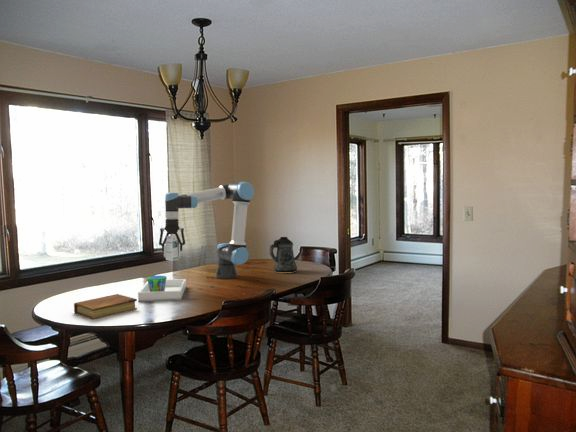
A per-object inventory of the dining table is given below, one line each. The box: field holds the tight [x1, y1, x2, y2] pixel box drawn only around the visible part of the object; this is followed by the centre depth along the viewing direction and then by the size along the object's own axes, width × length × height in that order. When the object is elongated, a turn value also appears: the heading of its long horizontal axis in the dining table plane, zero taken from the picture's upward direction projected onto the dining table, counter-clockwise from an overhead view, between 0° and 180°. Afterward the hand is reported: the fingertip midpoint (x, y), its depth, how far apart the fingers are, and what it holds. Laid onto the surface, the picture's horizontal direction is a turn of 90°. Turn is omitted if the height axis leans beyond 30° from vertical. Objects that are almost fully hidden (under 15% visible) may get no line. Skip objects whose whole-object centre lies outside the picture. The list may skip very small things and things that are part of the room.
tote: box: [137, 278, 187, 303], centre depth 264 cm, size 22×32×5 cm
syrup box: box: [164, 234, 180, 262], centre depth 273 cm, size 6×6×14 cm
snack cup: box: [146, 275, 168, 292], centre depth 257 cm, size 16×10×10 cm
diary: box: [73, 293, 138, 320], centre depth 229 cm, size 23×19×6 cm
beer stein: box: [268, 236, 298, 272], centre depth 327 cm, size 16×19×25 cm
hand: (172, 256), depth 273 cm, fingers closed on syrup box, 8 cm apart
